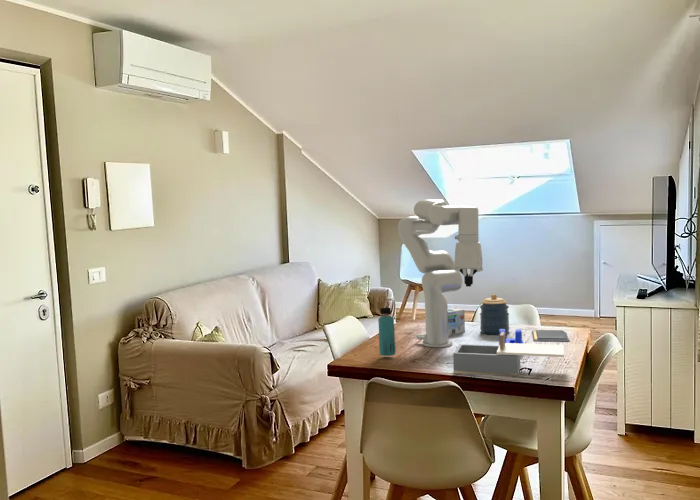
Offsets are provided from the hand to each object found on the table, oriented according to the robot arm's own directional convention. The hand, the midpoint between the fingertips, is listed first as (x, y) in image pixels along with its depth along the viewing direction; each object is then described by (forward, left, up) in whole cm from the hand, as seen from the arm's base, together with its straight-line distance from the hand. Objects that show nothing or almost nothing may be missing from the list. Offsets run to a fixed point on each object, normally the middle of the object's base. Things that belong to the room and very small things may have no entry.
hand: (468, 285), depth 233 cm
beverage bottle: (-32, -7, -28) cm, 43 cm away
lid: (+23, -16, -21) cm, 35 cm away
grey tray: (+8, -16, -28) cm, 33 cm away
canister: (+4, +46, -28) cm, 54 cm away
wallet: (+28, +41, -29) cm, 57 cm away
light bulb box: (-15, +42, -28) cm, 53 cm away
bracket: (+14, +17, -28) cm, 36 cm away
